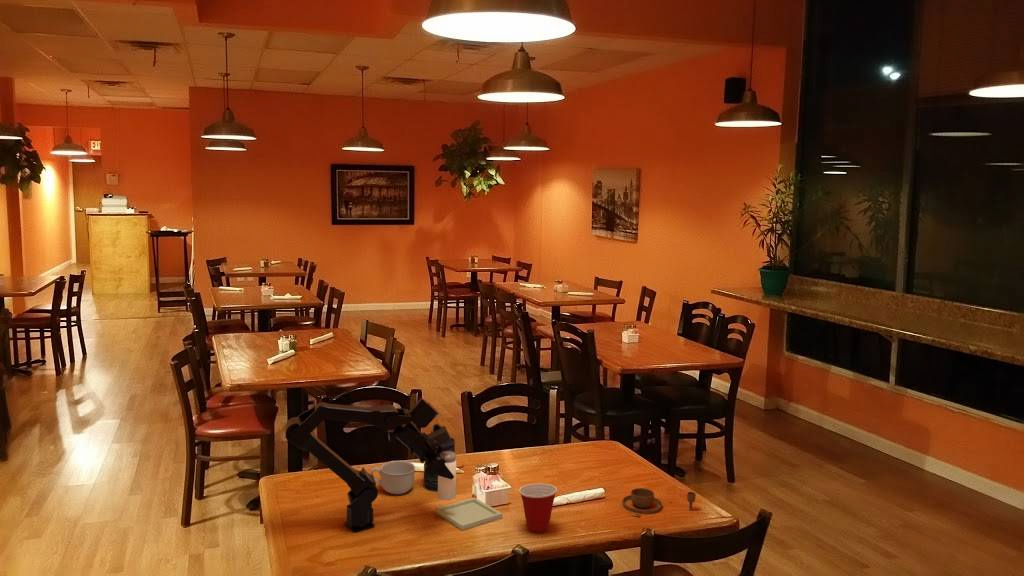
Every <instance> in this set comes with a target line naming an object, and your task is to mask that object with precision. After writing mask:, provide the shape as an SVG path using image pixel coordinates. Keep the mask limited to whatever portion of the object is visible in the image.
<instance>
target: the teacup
mask: <svg viewBox="0 0 1024 576" xmlns="http://www.w3.org/2000/svg"><path fill="white" fill-rule="evenodd" d="M369 471H370V472H369V474H371V475H373V477H374V479H375V482H376V484H378V485H379V486H381V487H382V488H383V490H385V492H387V493H388V494H391V495H403V494H407V492H409V491H410V490H411V489H412V488H413V487H414V484H415V478H416V477H415V474H416V473H415V472H416V466H415V464H413V463H412V462H410V461H406V460H391V461H386V462H384V463H383V464H382V465H381V466H380V467H377V466H376V467H373V468H371V469H370V470H369ZM374 472H377V473H378V474H379V476H380V479H379V478H377V477H376V476H374Z"/></svg>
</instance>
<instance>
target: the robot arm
mask: <svg viewBox="0 0 1024 576" xmlns="http://www.w3.org/2000/svg"><path fill="white" fill-rule="evenodd" d="M439 414H440V413H439V412H438V411H437V409H436V408H435V407H434V406H433V405H432V404H431V403H430V402H428V401H426V400H425V399H424V398H422V397H420V398H419V399H418V400H417V401H416V403H415V404H414V405H413V406H412V407H411V408H410V409H409V410H408V409H407V408H401V407H400V408H398V407H396V406H394V405H392V404H378V405H374V406H365V407H364V406H357V405H346V404H345V405H344V404H336V403H327V402H323V401H321V402H318V403H316V404H315V405H314V406H312V407H311V408H309V409H307V410H305V411H304V412H302V413H300V414H299V415H298V416H294V417H291V418H290V419H288V420H287V421H286V423H285V425H284V431H285V439H286V441H287V442H288V443H289V444H291V445H292V446H295V447H296V448H298V449H301V450H304V451H306V452H308V453H310V454H311V455H312V456H313V457H315V458H316V459H317V460H318V461H319V462H321V463H322V464H323V465H324V466H326V467H327V468H328V469H329V470H331V471H332V473H334V474H335V475H336V476H338V477H339V478H340V479H341V480H343V482H345V484H346V485H347V486H348V487H349V489H350V490H349V491H347V497H348V498H347V499H348V502H349V504H347V505H346V521H344V522H343V525H345V526H346V528H348V529H349V530H350V531H352V532H353V533H358V532H360V531H361V532H362V531H365V530H368V529H372V528H374V527H375V526H376V525H375V524H374V508H373V502H374V501H376V500H377V497H378V495H379V489H378V486H377V482H375V479H374V477H375V476H374V474H373V475H371V474H370V472H368V471H367V470H366V469H365V467H362V468H361V470H357V469H355V468H353V467H352V466H351V465H350V464H349V463H348V462H347V461H345V460H344V459H343V458H342V457H340V455H338V454H337V453H336V452H335V451H333V450H332V449H331V448H330V447H329V446H327V444H326V443H324V442H323V441H321V439H319V438H318V436H317V435H316V433H315V432H314V431H315V430H316V429H317V428H318V427H319V426H320V424H322V423H323V422H324V421H326V420H328V421H338V422H339V421H340V422H350V423H359V424H361V423H362V424H368V425H371V426H373V427H376V428H379V429H383V430H385V431H387V432H388V437H387V438H388V442H390V443H393V441H394V440H395V439H397V440H399V442H401V444H402V445H404V446H405V447H406V448H407V449H408V451H409V453H410V454H411V455H414V456H416V457H417V458H418V460H419V462H420V463H421V464H423V472H424V471H425V473H426V474H427V475H428V476H429V477H432V476H433V475H437V476H441V477H445V478H448V479H453V478H454V475H453V474H452V473H451V471H450V470H449V469H448V467H447V466H446V465H445V462H446V461H445V457H444V456H442V455H441V454H440V452H441V446H440V445H441V444H443V443H445V442H449V441H450V440H451V438H452V437H451V436H450V434H449V431H448V430H447V428H446V426H445V425H440V424H439V423H435V424H433V425H432V430H431V431H430V433H428V434H427V433H426V432H423V431H420V430H419V429H421V428H422V429H426V428H427V427H428V426H429V424H430V423H431V422H432V421H433V420H434V419H435V418H436V417H437V416H439ZM416 426H417V427H416ZM418 428H419V429H418ZM450 437H451V438H450ZM436 446H437V447H436ZM425 460H426V463H425ZM373 476H374V477H373Z"/></svg>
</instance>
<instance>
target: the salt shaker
mask: <svg viewBox="0 0 1024 576" xmlns="http://www.w3.org/2000/svg"><path fill="white" fill-rule="evenodd" d="M440 454H441V455H442V456H444V457H445V461H446V462H445V465H446V466H447V467H448V469H449V470H450V471H451V473H452V474H453V475H454V478H453V479H448V478H445V477H441V476H438V492H437V498H438V500H441V501H452V500H455V499H456V497H457V459H456V458H457V457H456V456H457V455H456V454H457V453H456V452H455V453H454V452H451V451H444V452H440Z"/></svg>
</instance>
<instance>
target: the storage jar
mask: <svg viewBox="0 0 1024 576" xmlns="http://www.w3.org/2000/svg"><path fill="white" fill-rule="evenodd" d="M450 438H451V440H450V441H449V442H445V443H443V444H441V445H440V446H441V452H444V451H451V452H454V453H456V448H455V447H456V446H455V444H456V440H455V439H454V438H453V437H451V436H450ZM436 447H437V446H436ZM425 463H426V460H425V461H424V464H425ZM423 482H424V483H423V487H425V488H424V489H426V491H430V492H436V493H438V476H437V475H433V476H432V477H429V476H428V475H427V474H426V473H425V471H424V470H423Z"/></svg>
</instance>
